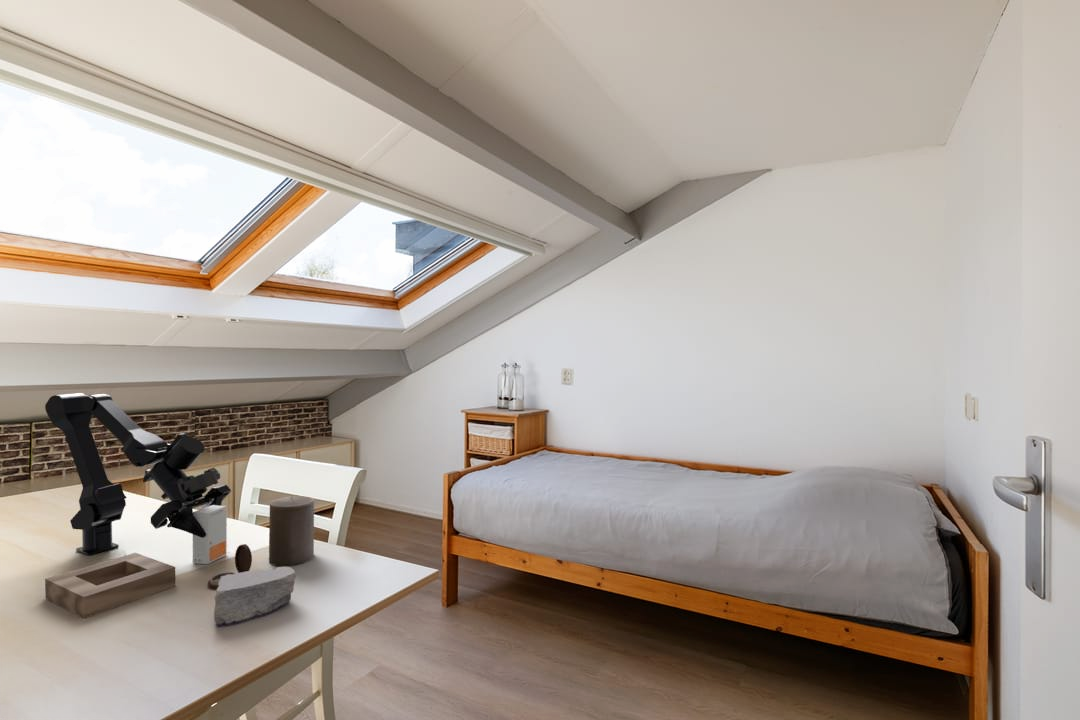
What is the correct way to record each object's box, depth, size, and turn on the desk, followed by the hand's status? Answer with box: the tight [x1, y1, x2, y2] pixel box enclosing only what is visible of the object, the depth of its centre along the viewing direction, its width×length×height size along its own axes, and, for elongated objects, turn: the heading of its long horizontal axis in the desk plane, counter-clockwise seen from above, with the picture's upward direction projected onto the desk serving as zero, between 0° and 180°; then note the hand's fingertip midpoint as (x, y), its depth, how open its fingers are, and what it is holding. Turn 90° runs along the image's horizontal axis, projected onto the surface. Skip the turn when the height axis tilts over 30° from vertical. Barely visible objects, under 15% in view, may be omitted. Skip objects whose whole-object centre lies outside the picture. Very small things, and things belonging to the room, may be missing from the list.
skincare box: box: [192, 505, 228, 565], centre depth 132 cm, size 6×4×12 cm
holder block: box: [44, 552, 176, 619], centre depth 114 cm, size 16×16×4 cm
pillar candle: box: [268, 495, 315, 567], centre depth 133 cm, size 10×10×15 cm
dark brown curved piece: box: [207, 543, 253, 590], centre depth 119 cm, size 8×8×7 cm
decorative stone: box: [213, 566, 297, 627], centre depth 107 cm, size 15×7×10 cm
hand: (215, 531), depth 131 cm, fingers closed on skincare box, 6 cm apart
